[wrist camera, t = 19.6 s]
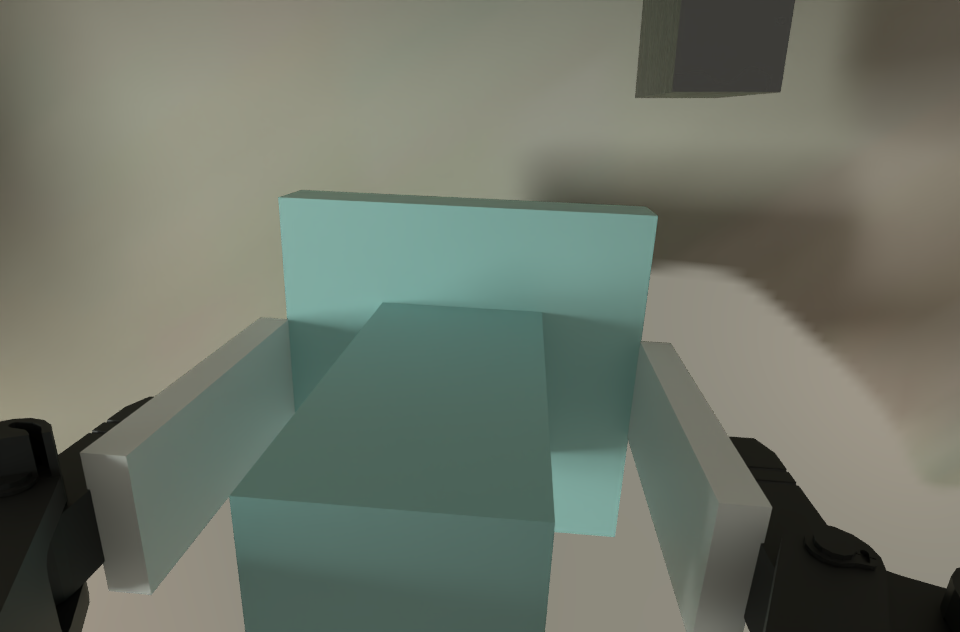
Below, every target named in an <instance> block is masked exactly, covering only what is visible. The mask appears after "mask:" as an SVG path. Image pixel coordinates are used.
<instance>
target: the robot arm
mask: <svg viewBox="0 0 960 632" xmlns="http://www.w3.org/2000/svg"><path fill="white" fill-rule="evenodd" d="M294 414H295V407H294V393H293V380H292V366H291V352H290V338H289V325H288V320H287V319H278V318H262V317H261V318H259V319H258V320H257V321H255V322H254V323H252V324H251V325H250V326H248V327H247V328H246V329H244V330H243V331H242V332H240V333H239V334H238V335H236V336H235V337H234V338H232V339H231V340H230V341H228V342H227V343H226V344H224V345H223V346H222V347H220V348H219V349H218V350H216V351H215V352H214V353H212V354H211V355H210V356H208V357H207V358H206V359H204V360H203V361H202V362H200V363H199V364H198V365H196V366H195V367H194V368H192V369H191V370H190V371H188V372H187V373H186V374H184V375H183V376H182V377H180V378H179V379H178V380H176V381H175V382H174V383H172V384H171V385H170V386H168V387H167V388H166V389H164V390H163V391H162V392H160V393H159V394H157V395H156V396H155V397H148V398H145V399H143V400H141V401H138V402H136V403H133V404H131V405H129V406H126V407H124V408H123V409H122V410H120V411H119V412H117V413H116V414H115V415H113V416H112V417H111V418H109V419H108V420H107V423H105V422H104V423H102V424H101V425H99V426H98V427H97V428H95V429H94V430H92V433H88V434H87V435H85V436H84V437H83V438H81V439H80V440H79V441H77V442H76V443H74V444H73V445H72V446H70V447H69V448H67V449H66V450H65V451H63V452H62V453H60V454H59V455H58V453H57V449H56V445H55V440H54V436H53V431H52V427H51V424H49V423H48V422H46V421H45V420H40V419H34V418H23V419H11V420H6V421H1V422H0V632H82V628H83V624H84V621H85V617H86V613H87V610H88V606H89V591H88V587H87V583H86V581H87V579H88V578H89V577H90V576H91V575H92V574H93V573H94V572H95V571H96V570H97V569H98V568H99V567H100V566H101V565H102V564H103V565H104V570H105V574H106V580H107V584H108V589H109V591H115V592H126V593H137V594H147V595H151V594H152V593H153V592H154V591H155V590H156V588H157V587H158V586H159V584H160V583H161V582H162V581H163V580H164V578H165V577H166V576H167V574H168V573H169V572H170V571H171V569H172V568H173V567H174V565H175V564H176V563H177V562H178V560H179V559H180V558H181V557H182V555H183V554H184V553H185V552H186V550H187V549H188V547H190V545H191V544H192V543H193V542H194V540H195V539H196V538H197V536H198V535H199V534H200V533H201V531H202V530H203V529H204V528H205V526H206V525H207V524H208V523H209V521H210V520H211V519H212V518H213V516H214V515H215V514H216V512H217V511H218V510H219V509H220V507H221V506H222V505H223V504H224V502H225V501H226V500H227V498H228V497H229V496H230V494H231V493H232V492H233V491H234V489H235V488H236V487H237V486H238V484H239V483H240V482H241V481H242V479H243V478H244V477H245V475H246V474H247V473H248V472H249V470H250V469H251V468H252V467H253V465H254V464H255V463H256V462H257V460H258V459H259V458H260V457H261V455H262V454H263V453H264V451H265V450H266V449H267V448H268V446H269V445H270V444H271V443H272V441H273V440H274V439H275V438H276V436H277V435H278V434H279V433H280V431H281V430H282V429H283V427H284V426H285V425H286V424H287V422H288V421H289V420H290V419H291V417H292V416H293V415H294ZM627 438H628V441H629V444H630V448H631V450H632V454H633V457H634V461H635V463H636V467H637V470H638V474H639V477H640V480H641V484H642V487H643V490H644V494H645V497H646V500H647V504H648V507H649V510H650V514H651V517H652V520H653V523H654V527H655V530H656V533H657V537H658V540H659V543H660V547H661V550H662V553H663V556H664V560H665V563H666V566H667V569H668V573H669V576H670V579H671V583H672V586H673V589H674V593H675V596H676V599H677V602H678V606H679V609H680V613H681V616H682V619H683V622H684V626H685V629H686V632H743V630H744V626H745V622H746V624H747V626H748V629H749V631H750V632H960V568H957V569H956V570H955V572H954V573H953V574H952V576H951V578H950V581H949V584H948V586H947V589H946V588H942V587H939V586H935V585H931V584H928V583H924V582H921V581H918V580H914V579H911V578H907V577H904V576H900V575H897V574H894V573H892V572H889V571H886V569H885V566H884V564H883V561H882V559H881V557H880V556H879V555H878V554H877V553H876V552H875V551H874V550H873V549H872V548H871V547H870V546H869V545H867V544H866V543H865V542H863V541H862V540H860V539H858V538H857V537H855V536H854V535H852V534H850V533H847V532H845V531H843V530H840V529H838V528H836V527H832V526H828V525H827V524H826V523H825V521H824V520H823V519H822V518H821V516H820V514H819V513H818V512H817V510H816V509H815V508H814V506H813V505H812V504H811V502H810V501H809V499H808V498H807V497H806V495H805V494H804V493H803V491H802V490H801V488H800V487H799V486H796V482H795V480H794V479H793V477H792V476H791V475H790V473H789V472H786V468H785V466H784V465H783V464H782V462H781V461H780V459H779V458H778V457H777V455H776V454H775V453H774V452H773V451H771V450H770V449H768V448H767V447H765V446H764V445H763V444H761V443H760V442H758V441H757V440H756V439H754V438H741V437H729V436H728V435H727V433H726V432H725V430H724V428H723V427H722V425H721V424H720V422H719V420H718V419H717V417H716V416H715V414H714V412H713V411H712V409H711V407H710V406H709V404H708V403H707V401H706V399H705V398H704V396H703V395H702V393H701V391H700V390H699V388H698V387H697V385H696V383H695V382H694V380H693V378H692V377H691V375H690V374H689V372H688V370H687V369H686V367H685V366H684V364H683V362H682V361H681V359H680V357H679V356H678V354H677V353H676V351H675V349H674V348H673V346H672V345H671V343H662V342H645V341H641V342H640V347H639V355H638V362H637V370H636V377H635V384H634V392H633V399H632V407H631V414H630V422H629V429H628V437H627Z"/></svg>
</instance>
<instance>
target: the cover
mask: <svg viewBox="0 0 960 632" xmlns="http://www.w3.org/2000/svg"><path fill="white" fill-rule="evenodd" d="M278 199H279V213H280V227H281V240H282V254H283V267H284V281H285V295H286V308H287V320H288V325H289V338H290V352H291V366H292V380H293V393H294V407H295V414H294V415H293V416H292V417H291V419H290V420H289V421H288V422H287V424H286V425H285V426H284V427H283V429H282V430H281V431H280V433H279V434H278V435H277V436H276V438H275V439H274V440H273V441H272V443H271V444H270V445H269V446H268V448H267V449H266V450H265V451H264V453H263V454H262V455H261V457H260V458H259V459H258V460H257V462H256V463H255V464H254V465H253V467H252V468H251V469H250V470H249V472H248V473H247V474H246V475H245V477H244V478H243V479H242V481H241V482H240V483H239V484H238V486H237V487H236V488H235V489H234V491H233V492H232V493H231V494H230V496H229V498H230V507H231V515H232V523H233V532H234V540H235V548H236V557H237V565H238V573H239V582H240V590H241V599H242V606H243V614H244V624H245V632H545V624H546V614H547V604H548V593H549V582H550V571H551V561H552V550H553V540H554V532H561V533H575V534H586V535H597V536H609V537H615V532H616V525H617V517H618V509H619V501H620V495H621V487H622V480H623V473H624V465H625V458H626V450H627V443H628V438H627V437H628V429H629V422H630V414H631V407H632V399H633V392H634V384H635V377H636V370H637V362H638V355H639V347H640V342H641V339H642V331H643V324H644V316H645V309H646V302H647V294H648V287H649V280H650V272H651V265H652V257H653V250H654V242H655V235H656V228H657V220H658V215H656V214H655V213H654V212H652V211H651V210H650V209H648V208H647V207H645V206H625V205H604V204H583V203H562V202H541V201H520V200H499V199H478V198H458V197H437V196H416V195H395V194H374V193H353V192H332V191H311V190H300V191H297V192H293V193H290V194H287V195H284V196H281V197H278Z"/></svg>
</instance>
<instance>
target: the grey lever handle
mask: <svg viewBox="0 0 960 632" xmlns="http://www.w3.org/2000/svg"><path fill="white" fill-rule="evenodd" d="M794 3H795V0H643V10H642V22H641V34H640V46H639V58H638V70H637V82H636V94H635V98H721V97H733V96H744V95H755V94H766V93H777V92H780V91H781V85H782V79H783V72H784V66H785V60H786V53H787V47H788V41H789V35H790V28H791V22H792V16H793V9H794Z"/></svg>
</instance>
